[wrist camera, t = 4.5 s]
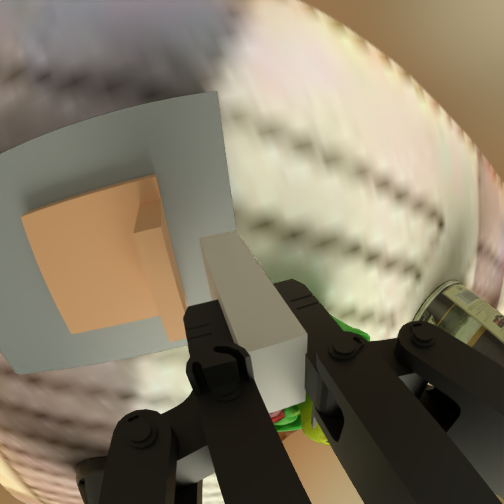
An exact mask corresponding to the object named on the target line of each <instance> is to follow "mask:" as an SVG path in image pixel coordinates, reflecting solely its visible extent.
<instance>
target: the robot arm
mask: <svg viewBox="0 0 504 504" xmlns="http://www.w3.org/2000/svg"><path fill="white" fill-rule="evenodd" d="M199 241H200V246H201V251H202V256H203V261H204V266H205V270H206V275H207V280H208V285H209V289H210V294H211V297H212V300H213V301H209V302H205V303H200V304H196V305H192V306H188V307H187V309H186V312H185V314H184V316H183V321H184V327H185V331H186V338H187V343H188V348H189V354H190V358H189V360H188V362H187V365H186V374H187V377H188V379H189V381H190V384H191V386H192V389H193V390H192V392H191V394H190V395H189V397H188V398H187V399H186V400H185V401H184V402H183V403H181V404H180V405H178V406H177V407H175V408H173V409H171V410H169V411H167V412H165V413H163V414H160V413H158V412H157V411H152V410H148V409H144V410H136V411H133V412H131V413H129V414H127V415H125V416H124V417H123V418H122V419H121V420H120V421H119V422H118V423H117V425H116V428H115V430H114V432H113V436H112V440H111V444H110V449H109V453H108V457H102V458H93V459H88V460H85V461H82V462H81V463H79V464H78V465H77V467H76V482H77V485H78V488H79V491H80V494H81V496H82V499H83V502H84V504H202V482H203V479H204V478H205V477H207V476H209V475H211V474H213V473H214V472H215V473H216V476H217V480H218V483H219V486H220V490H221V493H222V496H223V499H224V502H225V504H312V503H311V501H310V500H309V497H308V496H307V493H306V491H305V489H304V488H303V486H302V483H301V481H300V480H299V477H298V475H297V473H296V471H295V469H294V467H293V465H292V463H291V460H290V459H289V456H288V454H287V452H286V450H285V448H284V446H283V443H282V441H281V439H280V437H279V435H278V432H277V430H276V428H275V426H274V424H273V421H272V419H271V417H270V415H269V413H272V412H275V411H278V410H281V409H284V408H287V407H290V406H293V405H296V404H299V403H301V402H304V401H305V397H306V392H307V394H308V395H309V397H310V399H311V400H312V402H313V405H312V416H311V425H312V428H316V424H317V423H318V424H319V426H320V428H321V430H322V431H323V433H324V435H325V437H326V438H327V440H328V442H329V444H330V445H331V447H332V449H333V451H334V452H335V454H336V456H337V458H338V459H339V461H340V463H341V464H342V466H343V468H344V469H345V471H346V473H347V475H348V476H349V478H350V480H351V481H352V483H353V485H354V487H355V488H356V490H357V492H358V493H359V495H360V497H361V498H362V500H363V502H364V504H502V503H501V502H500V500H499V499H498V498H497V497H496V495H495V494H497V495H498V496H500V497H501V498H503V499H504V367H503V366H501V365H499V364H498V363H496V362H495V361H493V360H491V359H490V358H488V357H487V356H485V355H483V354H482V353H480V352H479V351H477V350H475V349H474V348H472V347H470V346H469V345H467V344H465V343H464V342H462V341H461V340H459V339H457V338H456V337H454V336H452V335H451V334H449V333H447V332H446V331H444V330H442V329H441V328H439V327H437V326H436V325H433V324H431V323H429V322H425V321H412V322H409V323H407V324H405V325H403V326H402V328H401V329H400V331H399V333H398V337H397V338H394V339H387V340H380V341H367V340H366V339H365V338H363V337H362V336H361V335H359V334H356V333H353V332H350V331H343V329H342V328H341V327H340V326H339V325H338V324H337V322H336V321H335V320H334V319H333V318H332V316H331V315H330V314H329V313H328V312H327V311H326V309H325V308H324V307H323V306H322V305H321V304H320V303H319V301H318V300H317V299H316V298H315V297H314V296H313V295H312V293H311V292H310V291H309V290H308V288H307V287H306V286H305V285H304V284H302V283H300V282H298V281H296V280H294V279H290V280H286V281H282V282H279V283H275V284H272V282H271V281H270V279H269V278H268V276H267V275H266V274H265V272H264V271H263V269H262V268H261V266H260V265H259V264H258V262H257V261H256V259H255V258H254V256H253V255H252V253H251V252H250V251H249V249H248V248H247V246H246V245H245V243H244V242H243V241H242V239H241V238H240V236H239V235H238V233H237V232H236V230H234V231H229V232H225V233H220V234H215V235H211V236H206V237H202V238H199ZM428 382H429V383H430V384H432V385H433V386H430V385H428ZM494 493H495V494H494Z"/></svg>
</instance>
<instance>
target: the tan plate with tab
mask: <svg viewBox="0 0 504 504" xmlns="http://www.w3.org/2000/svg"><path fill="white" fill-rule="evenodd" d="M21 220H22V223H23V226H24V229H25V232H26V235H27V238H28V240H29V243H30V246H31V248H32V251H33V254H34V256H35V259H36V261H37V264H38V266H39V269H40V271H41V273H42V276H43V278H44V280H45V282H46V285H47V287H48V289H49V291H50V293H51V295H52V298H53V300H54V302H55V304H56V306H57V308H58V310H59V312H60V314H61V316H62V318H63V320H64V321H65V323H66V325H67V327H68V329H69V331H70V332H71V334H76V333H81V332H86V331H91V330H96V329H101V328H105V327H110V326H115V325H120V324H124V323H129V322H133V321H138V320H142V319H147V318H151V317H156V316H160V318H161V321H162V324H163V326H164V329H165V332H166V334H167V337H168V339H169V342H173V341H178V340H182V339H186V331H185V327H184V321H183V316H184V314H185V312H186V309H187V307H188V304H187V299H186V296H185V292H184V289H183V285H182V281H181V278H180V274H179V270H178V266H177V262H176V259H175V255H174V251H173V247H172V242H171V238H170V234H169V230H168V226H167V221H166V217H165V213H164V208H163V203H162V199H161V194H160V189H159V184H158V180H157V175H156V174H153V175H149V176H144V177H140V178H136V179H132V180H128V181H125V182H121V183H117V184H113V185H110V186H106V187H102V188H99V189H95V190H92V191H89V192H85V193H82V194H79V195H75V196H72V197H69V198H66V199H63V200H60V201H57V202H54V203H51V204H48V205H45V206H42V207H39V208H36V209H34V210H31V211H28V212H26V213H25V214H24V215H22V216H21Z"/></svg>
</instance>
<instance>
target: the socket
mask: <svg viewBox="0 0 504 504" xmlns="http://www.w3.org/2000/svg"><path fill="white" fill-rule="evenodd" d="M153 174H156V175H157V180H158V184H159V189H160V194H161V199H162V203H163V208H164V213H165V217H166V221H167V226H168V230H169V234H170V238H171V242H172V247H173V251H174V255H175V259H176V262H177V266H178V270H179V274H180V278H181V281H182V285H183V289H184V292H185V296H186V299H187V304H188V306H192V305H196V304H200V303H205V302H209V301H213V300H212V297H211V294H210V289H209V285H208V280H207V275H206V270H205V266H204V261H203V256H202V251H201V246H200V241H199V238H202V237H206V236H211V235H215V234H220V233H225V232H229V231H234V230H236V225H235V218H234V211H233V204H232V197H231V190H230V182H229V175H228V168H227V161H226V153H225V146H224V139H223V131H222V124H221V116H220V108H219V101H218V93H217V91H213V92H206V93H199V94H193V95H186V96H181V97H175V98H170V99H165V100H160V101H155V102H150V103H146V104H141V105H137V106H133V107H129V108H125V109H121V110H117V111H114V112H110V113H107V114H103V115H100V116H96V117H93V118H90V119H87V120H83V121H80V122H77V123H74V124H71V125H69V126H66V127H63V128H60V129H57V130H55V131H52V132H49V133H47V134H44V135H42V136H39V137H37V138H34V139H32V140H30V141H27V142H25V143H23V144H20V145H18V146H16V147H14V148H12V149H9V150H7V151H5V152H3V153H1V154H0V351H1V353H2V354H3V356H4V357H5V359H6V360H7V361H8V363H9V364H10V366H11V367H12V368H13V370H14V371H15V372H16V374H17V375H20V374H29V373H38V372H46V371H53V370H61V369H68V368H74V367H81V366H87V365H93V364H99V363H105V362H111V361H116V360H121V359H127V358H132V357H137V356H142V355H147V354H151V353H156V352H161V351H165V350H170V349H174V348H179V347H183V346H187V345H188V343H187V338H186V339H182V340H178V341H173V342H169V339H168V337H167V334H166V332H165V329H164V326H163V324H162V321H161V318H160V316H156V317H151V318H147V319H142V320H138V321H133V322H129V323H124V324H120V325H115V326H110V327H105V328H101V329H96V330H91V331H86V332H81V333H76V334H71V332H70V331H69V329H68V327H67V325H66V323H65V321H64V320H63V318H62V316H61V314H60V312H59V310H58V308H57V306H56V304H55V302H54V300H53V298H52V295H51V293H50V291H49V289H48V287H47V285H46V282H45V280H44V278H43V276H42V273H41V271H40V269H39V266H38V264H37V261H36V259H35V256H34V254H33V251H32V248H31V246H30V243H29V240H28V238H27V235H26V232H25V229H24V226H23V223H22V220H21V216H22V215H24V214H25V213H26V212H28V211H31V210H34V209H36V208H39V207H42V206H45V205H48V204H51V203H54V202H57V201H60V200H63V199H66V198H69V197H72V196H75V195H79V194H82V193H85V192H89V191H92V190H95V189H99V188H102V187H106V186H110V185H113V184H117V183H121V182H125V181H128V180H132V179H136V178H140V177H144V176H149V175H153Z"/></svg>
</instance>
